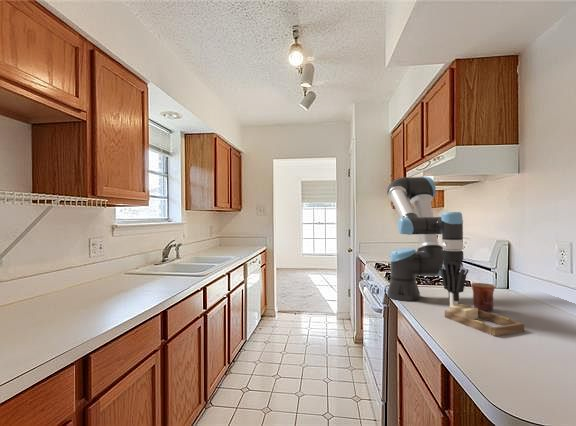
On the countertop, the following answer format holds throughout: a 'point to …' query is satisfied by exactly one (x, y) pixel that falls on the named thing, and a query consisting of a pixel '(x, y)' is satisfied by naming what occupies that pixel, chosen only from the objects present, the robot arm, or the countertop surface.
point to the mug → (483, 296)
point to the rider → (464, 311)
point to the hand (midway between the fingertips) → (453, 308)
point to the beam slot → (508, 324)
